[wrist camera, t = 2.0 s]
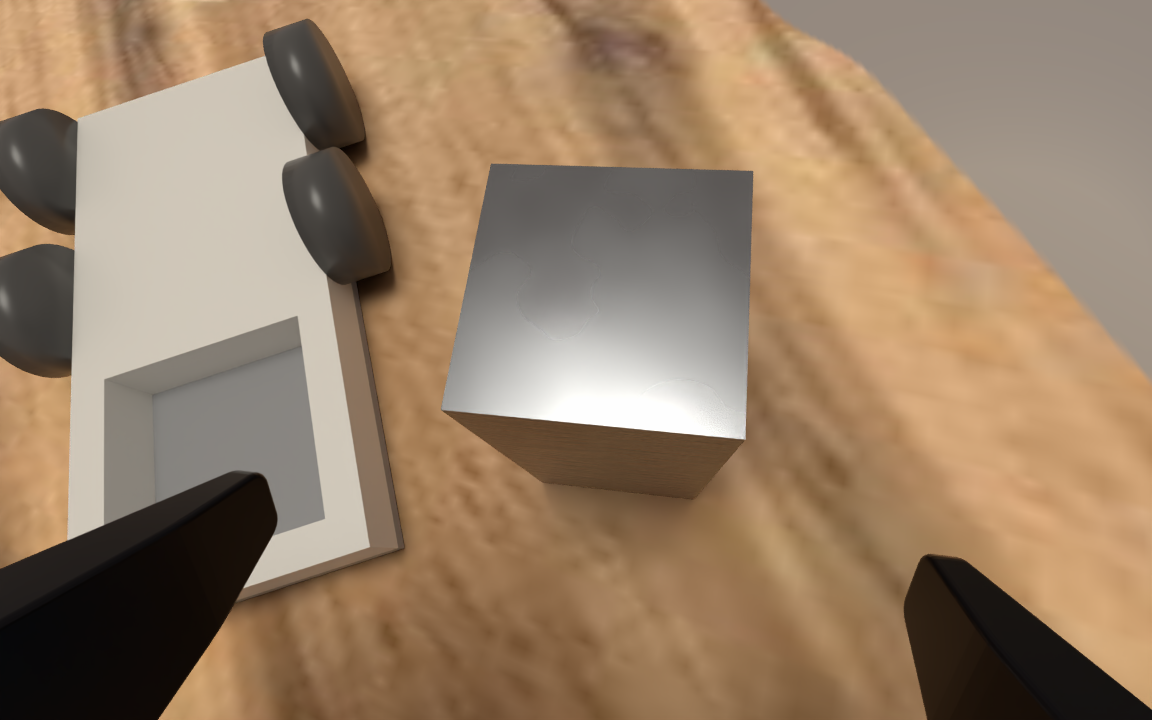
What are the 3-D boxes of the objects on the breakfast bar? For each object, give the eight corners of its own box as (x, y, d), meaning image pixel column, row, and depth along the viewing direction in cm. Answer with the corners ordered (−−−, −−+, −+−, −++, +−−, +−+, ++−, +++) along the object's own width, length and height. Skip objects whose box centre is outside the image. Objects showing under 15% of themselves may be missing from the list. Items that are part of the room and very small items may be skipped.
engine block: (694, 499, 18) (745, 439, 9) (542, 482, 19) (440, 409, 10) (702, 354, 20) (753, 171, 10) (561, 343, 20) (491, 163, 11)
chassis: (450, 533, 19) (391, 526, 14) (92, 649, 19) (-73, 677, 14) (355, 82, 26) (296, -13, 22) (96, 169, 26) (-14, 91, 22)
